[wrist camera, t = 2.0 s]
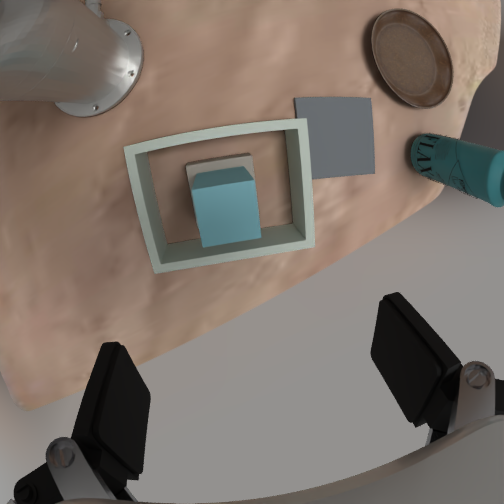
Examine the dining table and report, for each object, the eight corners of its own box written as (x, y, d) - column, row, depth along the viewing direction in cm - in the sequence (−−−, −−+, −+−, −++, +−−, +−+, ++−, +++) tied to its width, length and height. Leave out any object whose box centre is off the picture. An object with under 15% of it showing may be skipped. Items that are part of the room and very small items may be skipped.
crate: (137, 143, 29) (123, 147, 25) (291, 118, 31) (306, 118, 26) (161, 252, 36) (154, 273, 31) (301, 229, 37) (314, 246, 32)
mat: (293, 98, 30) (295, 97, 29) (368, 98, 30) (370, 98, 30) (301, 179, 34) (303, 180, 33) (372, 172, 35) (374, 173, 34)
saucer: (454, 88, 30) (466, 88, 28) (396, 124, 32) (408, 126, 30) (410, 4, 24) (421, 0, 22) (340, 29, 26) (350, 24, 24)
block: (196, 173, 29) (191, 190, 22) (243, 165, 30) (254, 180, 22) (204, 217, 31) (202, 247, 24) (249, 210, 32) (261, 237, 24)
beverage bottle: (410, 123, 32) (529, 147, 14) (440, 142, 34) (548, 175, 16) (397, 165, 35) (512, 212, 17) (427, 181, 36) (532, 231, 18)
